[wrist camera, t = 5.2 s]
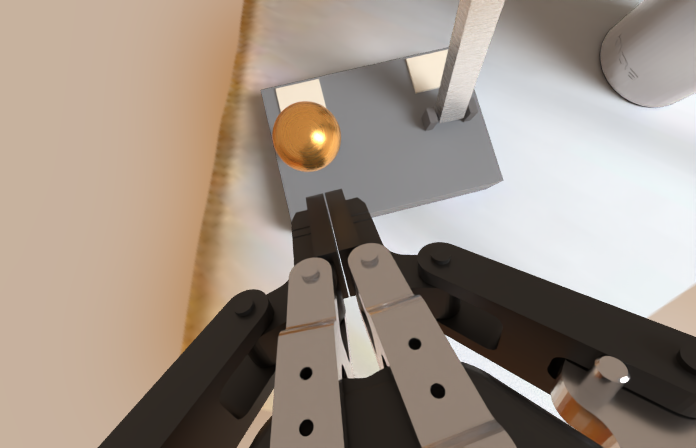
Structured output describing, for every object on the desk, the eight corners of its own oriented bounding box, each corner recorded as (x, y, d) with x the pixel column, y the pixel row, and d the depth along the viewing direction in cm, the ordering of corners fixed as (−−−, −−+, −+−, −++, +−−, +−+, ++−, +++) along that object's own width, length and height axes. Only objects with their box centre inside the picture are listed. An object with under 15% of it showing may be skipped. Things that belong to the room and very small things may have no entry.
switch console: (447, 67, 29) (467, 31, 24) (485, 189, 27) (513, 174, 23) (269, 108, 28) (255, 79, 23) (299, 235, 26) (290, 230, 22)
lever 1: (324, 128, 24) (333, 87, 9) (331, 159, 24) (351, 164, 10) (293, 135, 23) (257, 104, 9) (301, 166, 24) (279, 181, 10)
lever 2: (456, 101, 25) (549, -199, 12) (469, 122, 24) (585, -182, 11) (428, 108, 25) (490, -188, 12) (439, 129, 24) (521, -169, 11)
